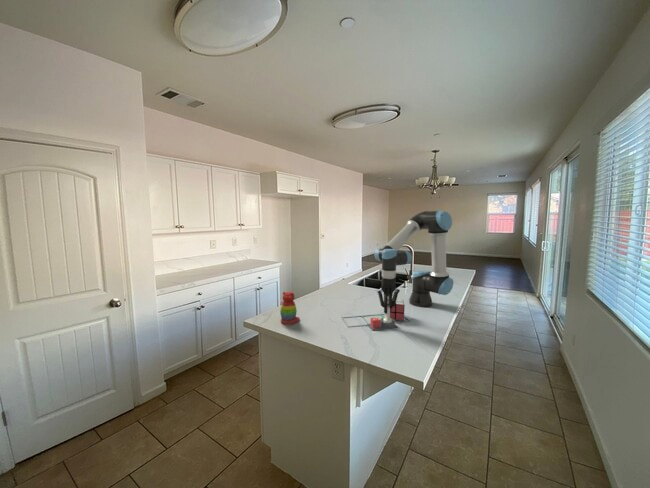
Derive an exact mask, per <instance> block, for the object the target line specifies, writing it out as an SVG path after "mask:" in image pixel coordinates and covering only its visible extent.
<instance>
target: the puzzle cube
mask: <svg viewBox="0 0 650 488" xmlns="http://www.w3.org/2000/svg"><path fill="white" fill-rule="evenodd" d="M405 307H406V306H405V302H404V299H400V298H399V299H398V298H397V300H396V304H395V306H393V308H391V313H390V318H392V319H394V320H395V322H403V321H405V318H404V317H405Z"/></svg>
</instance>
